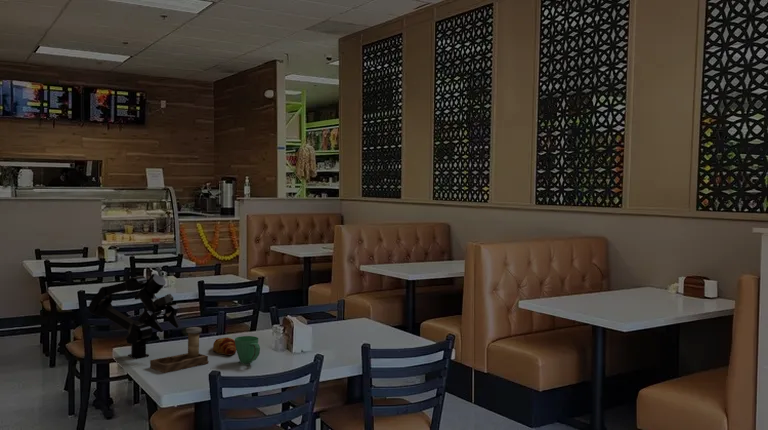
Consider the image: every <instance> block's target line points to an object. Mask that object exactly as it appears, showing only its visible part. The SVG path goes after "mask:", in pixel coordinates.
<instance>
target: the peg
mask: <svg viewBox="0 0 768 430" xmlns="http://www.w3.org/2000/svg"><path fill="white" fill-rule="evenodd" d="M185 332H186V334H187V335H188V336H187V353H188V359H190V358H194V357H199V354H200V334H201V333H202V327H197V326H192V327H191V326H190V327H187V328H185Z"/></svg>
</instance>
